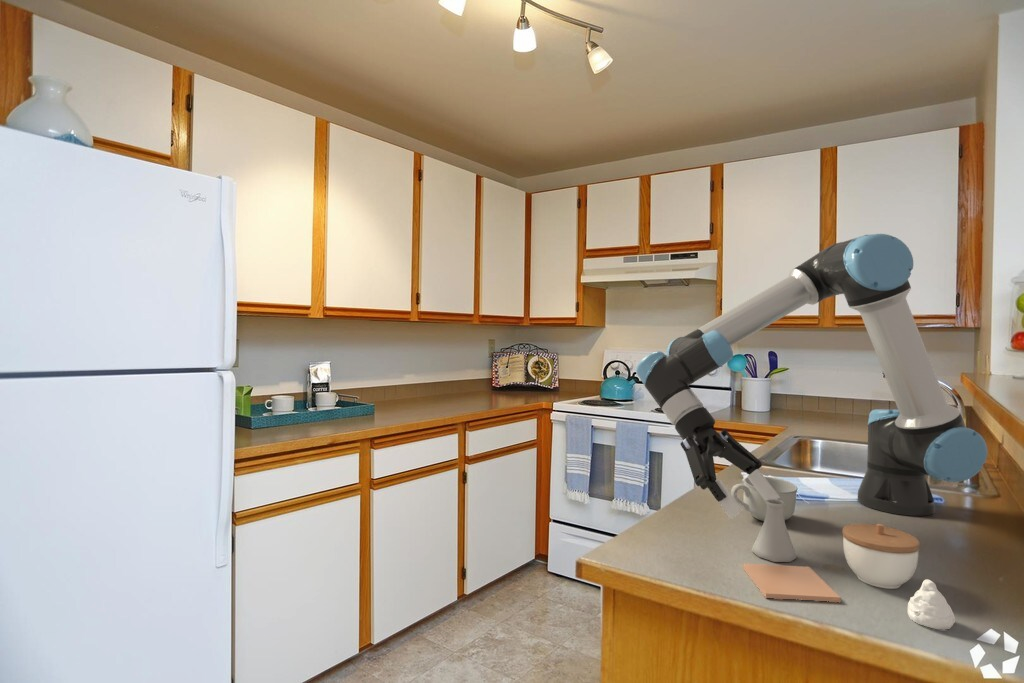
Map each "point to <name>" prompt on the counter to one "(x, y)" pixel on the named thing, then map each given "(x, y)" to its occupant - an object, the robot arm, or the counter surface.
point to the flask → (774, 535)
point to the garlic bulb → (930, 607)
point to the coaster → (790, 582)
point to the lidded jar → (880, 554)
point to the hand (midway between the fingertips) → (756, 508)
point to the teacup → (757, 503)
